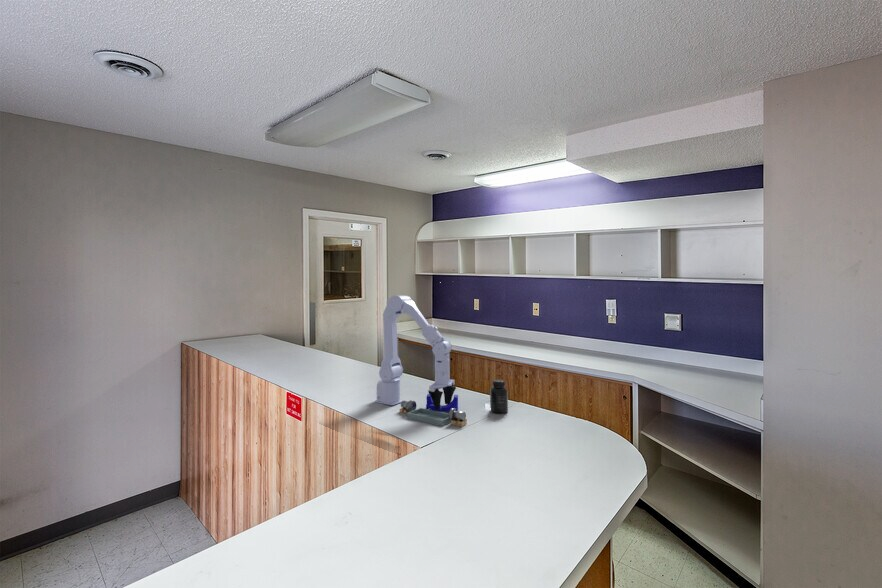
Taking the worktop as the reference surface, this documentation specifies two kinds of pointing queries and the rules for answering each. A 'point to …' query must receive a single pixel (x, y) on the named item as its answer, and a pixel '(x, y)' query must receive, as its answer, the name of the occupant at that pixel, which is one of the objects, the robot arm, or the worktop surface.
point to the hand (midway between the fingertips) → (442, 406)
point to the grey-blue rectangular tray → (429, 416)
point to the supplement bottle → (498, 397)
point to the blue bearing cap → (442, 407)
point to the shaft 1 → (407, 406)
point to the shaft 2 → (457, 417)
